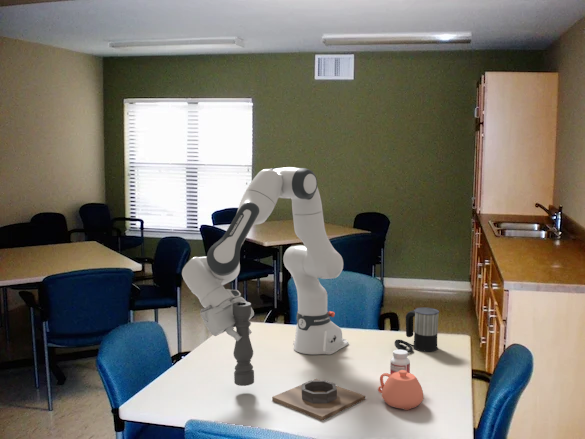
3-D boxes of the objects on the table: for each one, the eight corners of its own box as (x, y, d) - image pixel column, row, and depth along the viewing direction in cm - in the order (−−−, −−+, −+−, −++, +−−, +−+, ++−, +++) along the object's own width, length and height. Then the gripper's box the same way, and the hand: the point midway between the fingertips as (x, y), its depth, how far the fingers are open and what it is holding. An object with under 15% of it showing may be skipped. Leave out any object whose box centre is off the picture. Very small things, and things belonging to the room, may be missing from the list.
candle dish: (316, 382, 202) (316, 369, 202) (365, 399, 189) (365, 386, 188) (272, 400, 188) (272, 387, 187) (322, 420, 174) (322, 406, 174)
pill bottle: (402, 380, 204) (402, 347, 203) (413, 386, 199) (414, 353, 197) (386, 383, 202) (386, 350, 200) (397, 389, 196) (398, 356, 195)
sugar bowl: (414, 416, 177) (415, 381, 176) (369, 405, 185) (370, 372, 183) (429, 401, 188) (430, 368, 186) (386, 391, 195) (386, 360, 194)
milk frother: (441, 347, 237) (442, 309, 235) (426, 359, 224) (427, 319, 222) (406, 340, 245) (407, 304, 243) (390, 352, 232) (391, 313, 230)
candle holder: (251, 386, 190) (248, 307, 187) (232, 385, 191) (229, 306, 188) (256, 378, 196) (253, 301, 193) (237, 377, 197) (234, 301, 194)
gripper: (203, 304, 185) (231, 340, 181) (241, 289, 202) (267, 322, 199) (191, 316, 187) (219, 353, 184) (230, 300, 205) (255, 333, 202)
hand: (244, 336), depth 192 cm, fingers closed on candle holder, 4 cm apart
